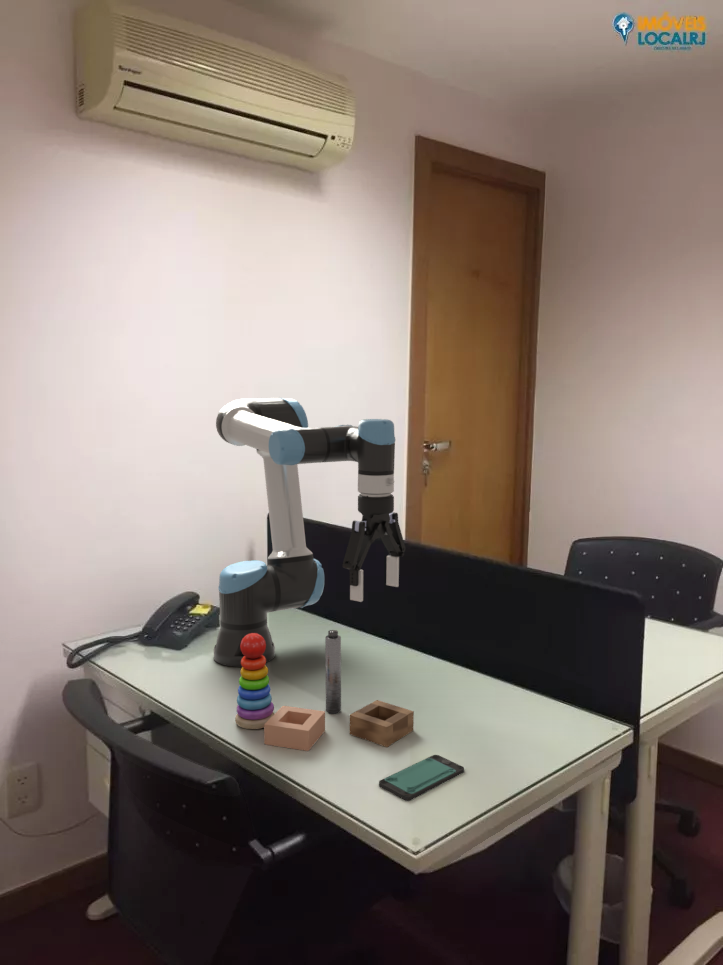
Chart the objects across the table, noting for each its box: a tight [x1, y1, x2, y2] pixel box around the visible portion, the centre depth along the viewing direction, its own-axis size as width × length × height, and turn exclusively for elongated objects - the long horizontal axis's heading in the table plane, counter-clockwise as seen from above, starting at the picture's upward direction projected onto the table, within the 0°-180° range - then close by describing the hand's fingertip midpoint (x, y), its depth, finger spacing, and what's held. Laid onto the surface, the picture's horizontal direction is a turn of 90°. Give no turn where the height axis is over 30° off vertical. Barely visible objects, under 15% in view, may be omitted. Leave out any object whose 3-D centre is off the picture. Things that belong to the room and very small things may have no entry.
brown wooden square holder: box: [349, 699, 415, 748], centre depth 155 cm, size 9×9×4 cm
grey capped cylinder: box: [324, 629, 342, 715], centre depth 164 cm, size 3×3×17 cm
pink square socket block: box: [263, 705, 326, 752], centre depth 153 cm, size 9×9×4 cm
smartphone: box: [378, 754, 465, 802], centre depth 138 cm, size 7×1×15 cm
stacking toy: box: [234, 633, 275, 730], centre depth 159 cm, size 8×8×19 cm
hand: (375, 592), depth 167 cm, fingers open, 13 cm apart
